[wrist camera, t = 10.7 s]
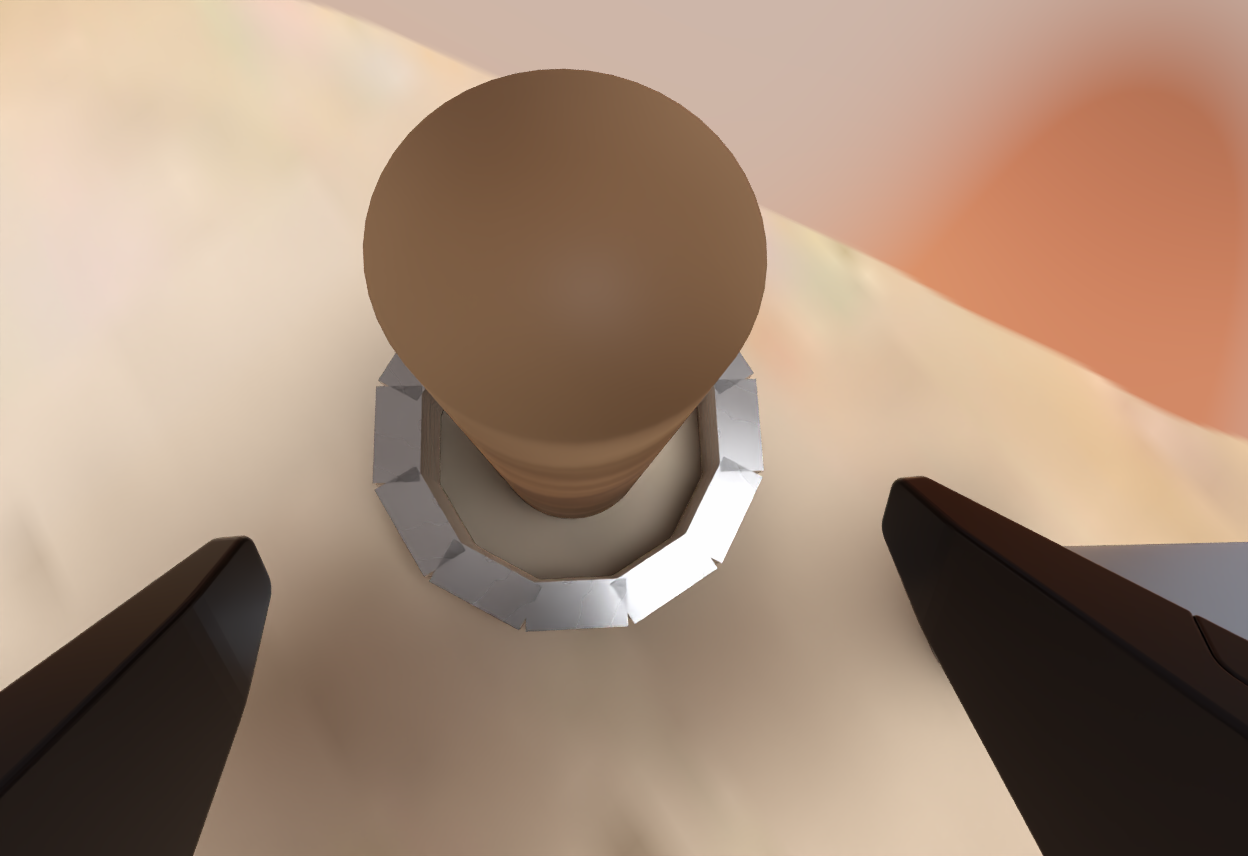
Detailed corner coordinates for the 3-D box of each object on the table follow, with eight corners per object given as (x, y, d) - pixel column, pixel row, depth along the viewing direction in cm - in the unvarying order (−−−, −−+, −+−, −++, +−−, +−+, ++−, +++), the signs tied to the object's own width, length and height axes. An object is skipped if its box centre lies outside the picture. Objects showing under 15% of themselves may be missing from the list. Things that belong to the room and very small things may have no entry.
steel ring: (644, 684, 18) (655, 703, 16) (331, 515, 19) (295, 509, 16) (790, 381, 21) (819, 357, 18) (508, 234, 21) (500, 191, 18)
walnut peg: (562, 548, 19) (539, 529, 6) (470, 437, 19) (278, 211, 7) (671, 456, 20) (846, 274, 7) (581, 351, 20) (595, 5, 8)
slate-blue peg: (1033, 723, 19) (1517, 898, 9) (902, 653, 19) (1244, 753, 9) (1079, 589, 20) (1561, 619, 10) (953, 523, 20) (1312, 491, 10)
